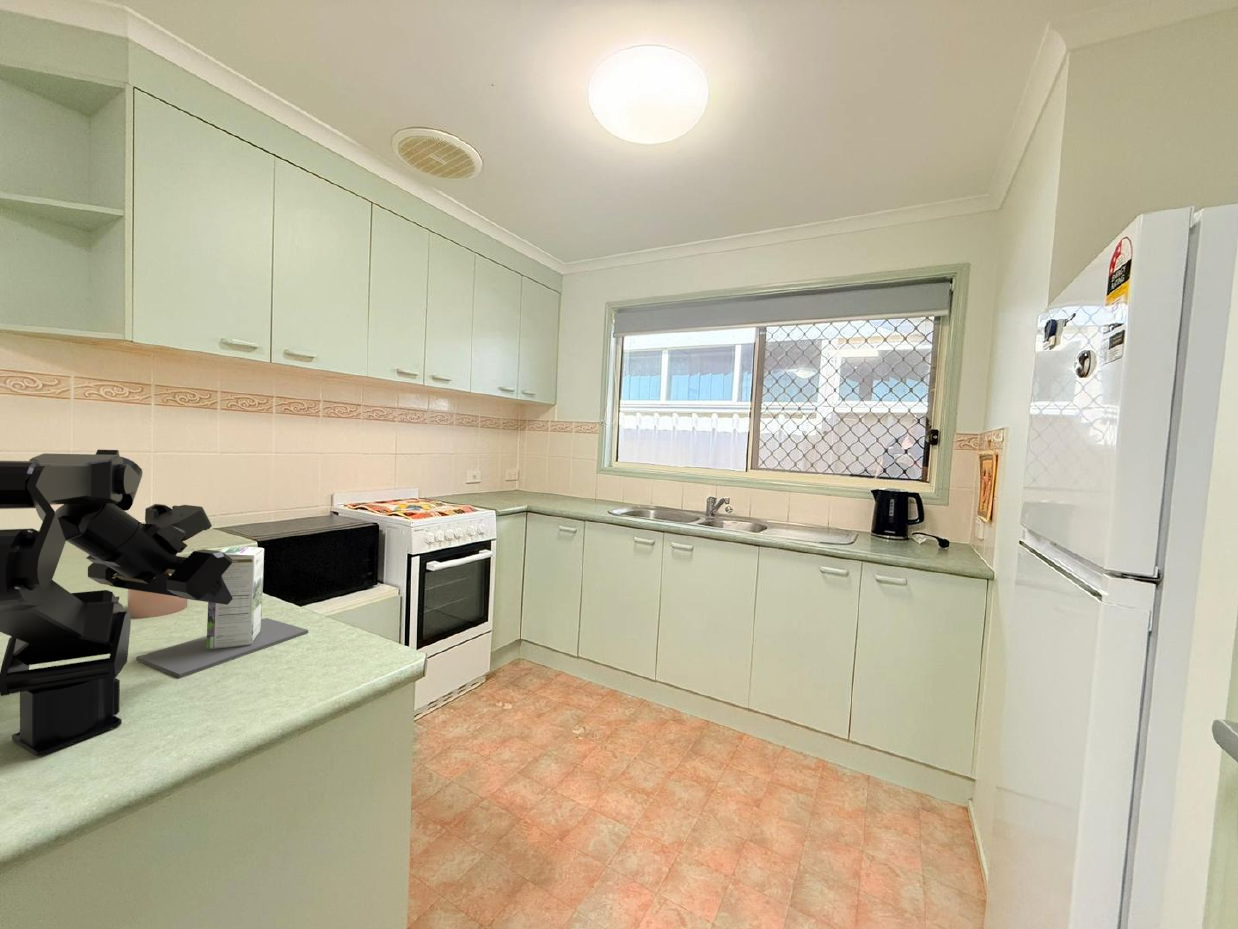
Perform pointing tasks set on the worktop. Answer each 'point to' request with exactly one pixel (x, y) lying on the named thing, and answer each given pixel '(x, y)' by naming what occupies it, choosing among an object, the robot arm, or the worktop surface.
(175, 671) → the mat
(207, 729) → the worktop surface
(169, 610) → the terracotta mug
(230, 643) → the syrup box
